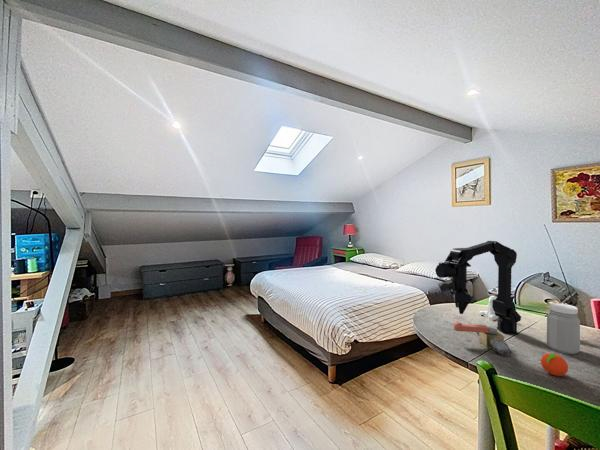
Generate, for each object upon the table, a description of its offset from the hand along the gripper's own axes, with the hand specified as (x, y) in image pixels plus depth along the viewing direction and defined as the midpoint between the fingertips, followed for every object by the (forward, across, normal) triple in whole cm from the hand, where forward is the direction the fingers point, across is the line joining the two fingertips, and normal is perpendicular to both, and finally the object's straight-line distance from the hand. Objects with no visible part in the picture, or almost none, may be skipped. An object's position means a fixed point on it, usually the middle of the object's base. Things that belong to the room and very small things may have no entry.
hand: (459, 310), depth 123 cm
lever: (+6, +6, +5) cm, 10 cm away
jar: (+12, -1, +37) cm, 39 cm away
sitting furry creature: (+12, -34, +21) cm, 42 cm away
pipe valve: (+12, +5, +11) cm, 17 cm away
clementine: (+12, +22, +25) cm, 36 cm away
